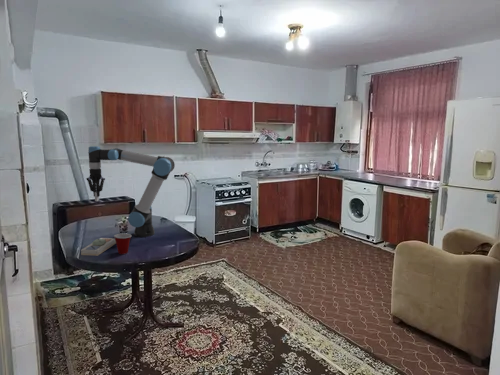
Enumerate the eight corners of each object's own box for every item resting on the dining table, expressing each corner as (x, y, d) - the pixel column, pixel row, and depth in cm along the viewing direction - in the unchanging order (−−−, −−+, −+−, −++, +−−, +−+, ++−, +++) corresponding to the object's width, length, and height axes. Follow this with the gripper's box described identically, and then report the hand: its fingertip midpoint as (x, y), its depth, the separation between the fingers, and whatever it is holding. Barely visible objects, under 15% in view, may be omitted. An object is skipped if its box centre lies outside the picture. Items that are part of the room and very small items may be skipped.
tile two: (105, 242, 234) (105, 239, 233) (101, 245, 228) (101, 241, 228) (97, 242, 234) (97, 238, 234) (92, 244, 228) (92, 241, 228)
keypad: (116, 243, 244) (115, 238, 243) (97, 255, 219) (97, 250, 218) (101, 242, 244) (100, 237, 244) (81, 254, 220) (80, 249, 219)
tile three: (99, 249, 226) (99, 245, 226) (95, 252, 220) (94, 249, 220) (91, 249, 227) (90, 245, 226) (86, 252, 221) (85, 248, 220)
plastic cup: (135, 252, 226) (134, 235, 224) (120, 256, 218) (119, 238, 216) (126, 248, 233) (126, 231, 231) (111, 252, 225) (110, 235, 223)
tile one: (111, 241, 242) (111, 238, 242) (107, 244, 236) (107, 241, 236) (103, 241, 242) (103, 238, 242) (98, 244, 237) (98, 240, 236)
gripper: (106, 168, 247) (108, 200, 251) (89, 167, 248) (91, 199, 252) (101, 169, 240) (103, 202, 243) (83, 168, 241) (85, 201, 244)
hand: (96, 200), depth 248 cm, fingers closed
